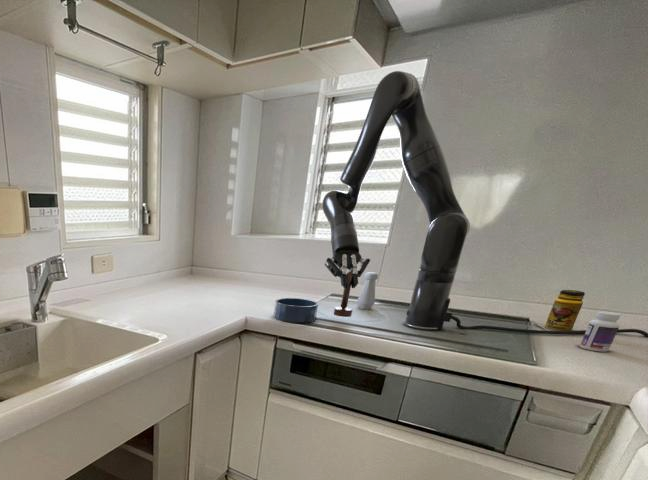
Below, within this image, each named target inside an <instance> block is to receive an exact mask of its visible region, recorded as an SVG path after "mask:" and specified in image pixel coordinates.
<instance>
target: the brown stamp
mask: <svg viewBox="0 0 648 480" xmlns="http://www.w3.org/2000/svg"><path fill="white" fill-rule="evenodd" d="M346 274H347V276H348V286H347V288H343V292H342V298H341V303H340V306H335V307H334V309H333V315H334V316H336V317H342V318H349V317H352V315H353V308H351V307H348V305H349V299H350V293H351V289H352V287H351V283H352V278H353V273H352V272H349V271H348V272H347V273H346Z"/></svg>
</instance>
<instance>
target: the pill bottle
mask: <svg viewBox="0 0 648 480" xmlns="http://www.w3.org/2000/svg"><path fill="white" fill-rule="evenodd" d="M621 316H622V314H621V313H617V312H611V311H598V312H597V314H596V316H595V317H596V318H595V319H592V320H590V321H589V323H588V325H587V328H586V329H585V330H586V332H585V334H583V337H582V339H581V342H580V343H579V347H580V348H581V349H585V350H588V351H592V352H599V353H600V352H602V353H605V352H608V351H609V350H610V348H611V346H612V344H613V342H614V341H615V340H614V339H615V338H616V335H617V334H618V333H617V331H618V329H620V326H621V325H620V323H619V322H617V321H619V320H620V318H621Z"/></svg>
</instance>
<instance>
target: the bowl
mask: <svg viewBox="0 0 648 480" xmlns="http://www.w3.org/2000/svg"><path fill="white" fill-rule="evenodd" d="M318 307H319V303H318V302H317V301H314V300H312V299H311V300H310V299H307V298H306V299H305V298H295V297H285V298H278V299H275V303H274V310H273V317H274V318H276V319H277V320H279V321H281V322H284V323H285V322H286V323H292V324H309V323H312V322H314V321H316V319H317V314H318Z"/></svg>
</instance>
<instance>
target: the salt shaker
mask: <svg viewBox="0 0 648 480" xmlns="http://www.w3.org/2000/svg"><path fill="white" fill-rule="evenodd" d="M364 279H365V282H364V284H363V286H362V289H361V291H360V293H359V296H358V298H357V300H356V303H357V306H358V309H361V310H371V309H372V308H373V306H374V305H375V302H376V280H378V279H379V273H377V272H375V271H374V272H373V271H368V272H366V273H365V274H364Z"/></svg>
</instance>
